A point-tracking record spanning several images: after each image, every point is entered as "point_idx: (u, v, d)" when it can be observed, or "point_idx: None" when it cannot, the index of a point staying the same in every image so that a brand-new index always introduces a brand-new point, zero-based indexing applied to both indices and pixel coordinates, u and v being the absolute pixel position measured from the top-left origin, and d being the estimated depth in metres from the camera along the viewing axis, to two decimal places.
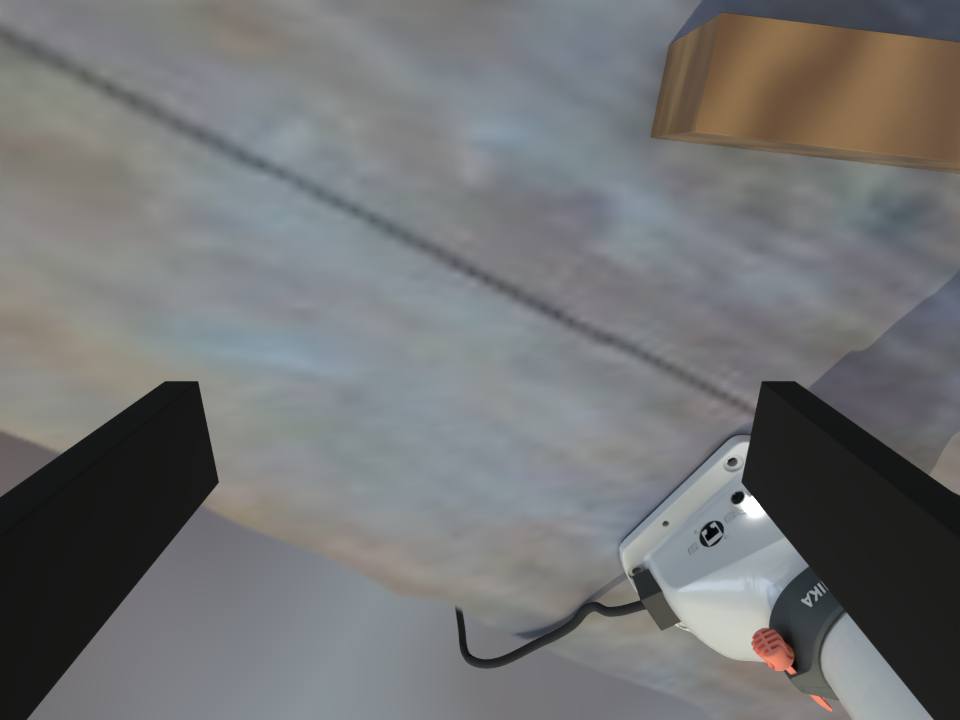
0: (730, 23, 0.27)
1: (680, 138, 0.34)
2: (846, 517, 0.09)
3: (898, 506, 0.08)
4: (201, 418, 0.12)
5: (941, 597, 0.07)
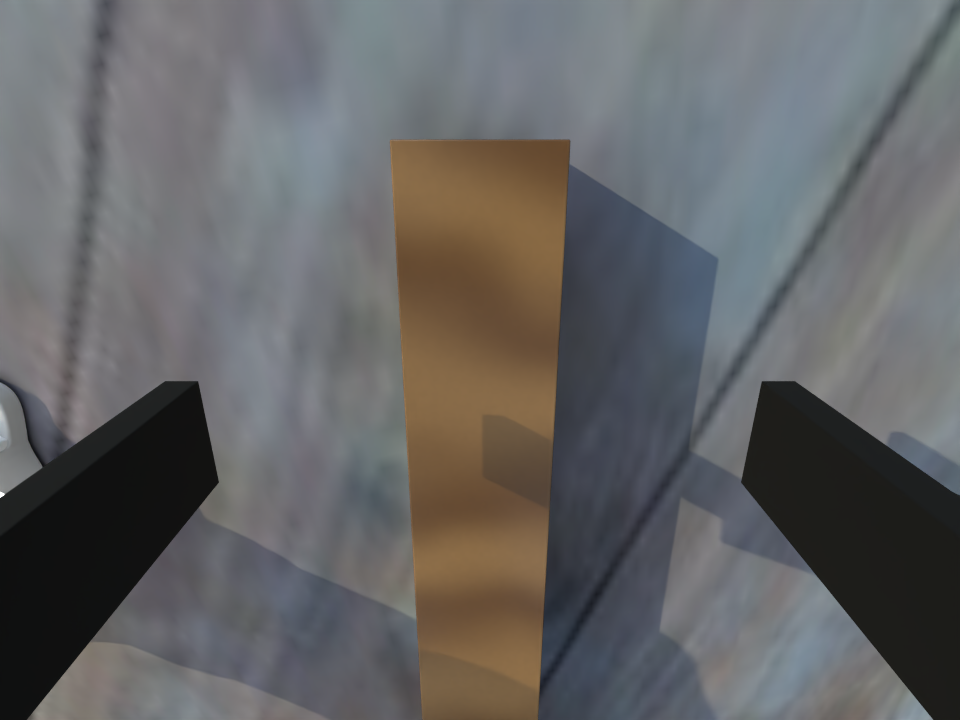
0: (555, 158, 0.17)
1: None
2: (846, 517, 0.09)
3: (898, 506, 0.08)
4: (202, 417, 0.12)
5: (941, 597, 0.07)
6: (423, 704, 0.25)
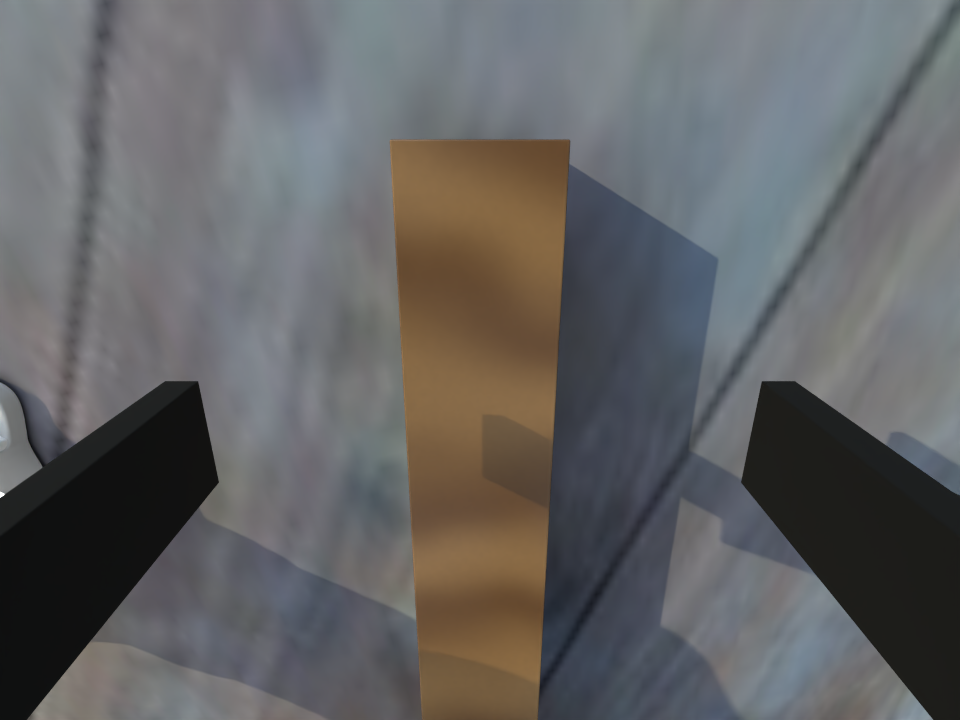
0: (554, 158, 0.17)
1: None
2: (846, 517, 0.09)
3: (898, 506, 0.08)
4: (201, 417, 0.12)
5: (941, 597, 0.07)
6: (423, 704, 0.25)
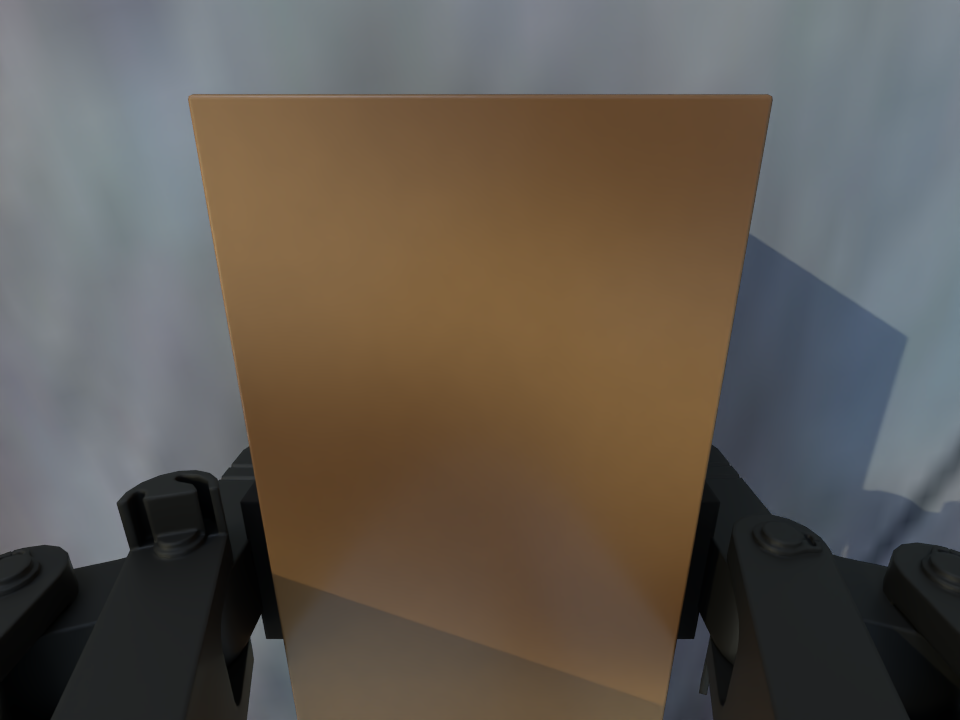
0: (718, 155, 0.05)
1: None
2: None
3: None
4: None
5: None
6: None
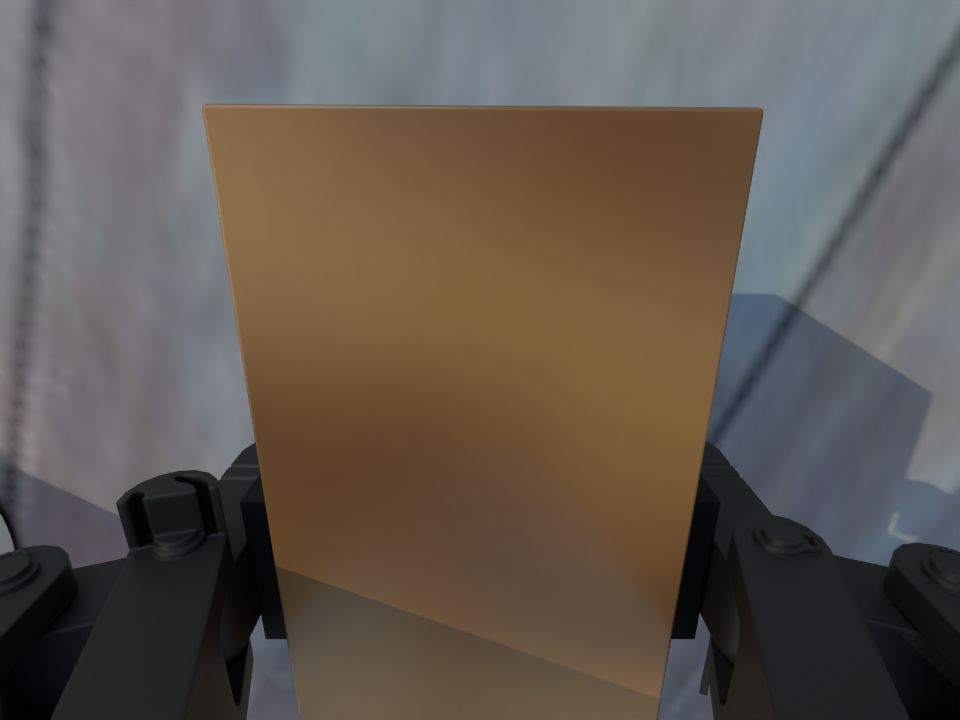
0: (712, 166, 0.05)
1: None
2: None
3: None
4: None
5: None
6: None
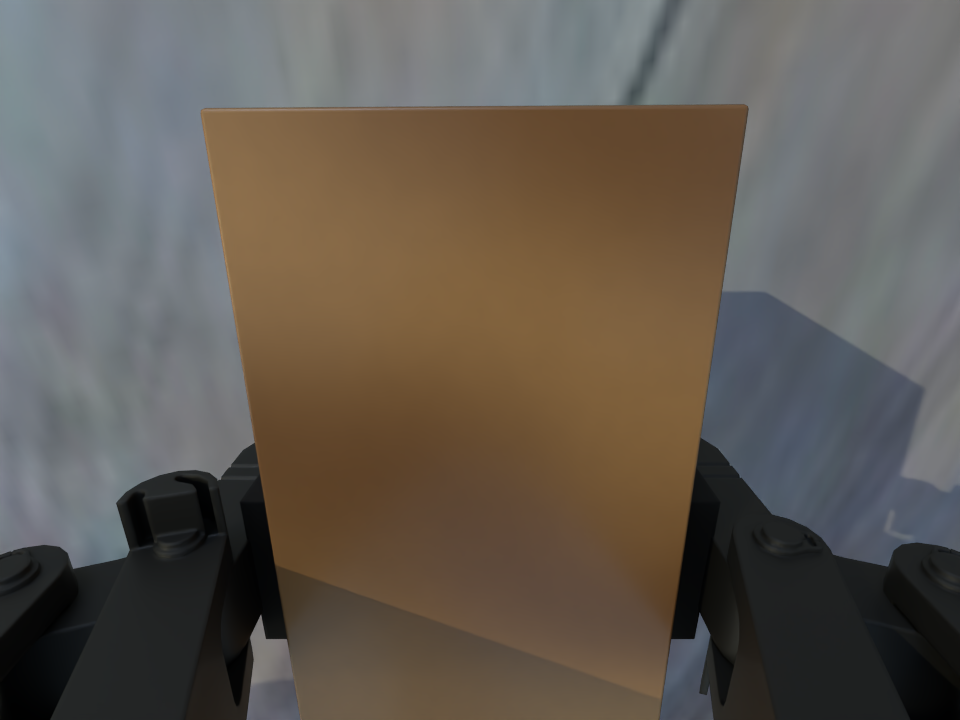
0: (699, 163, 0.06)
1: None
2: None
3: None
4: None
5: None
6: None
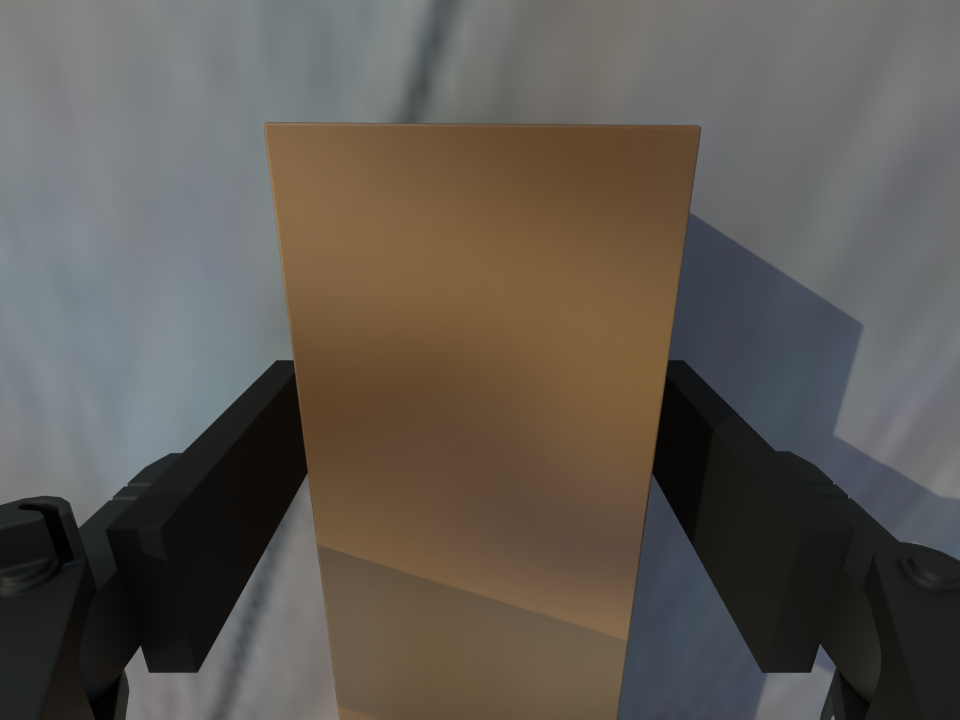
0: (662, 171, 0.07)
1: None
2: (699, 474, 0.11)
3: (726, 460, 0.09)
4: None
5: (747, 533, 0.09)
6: None
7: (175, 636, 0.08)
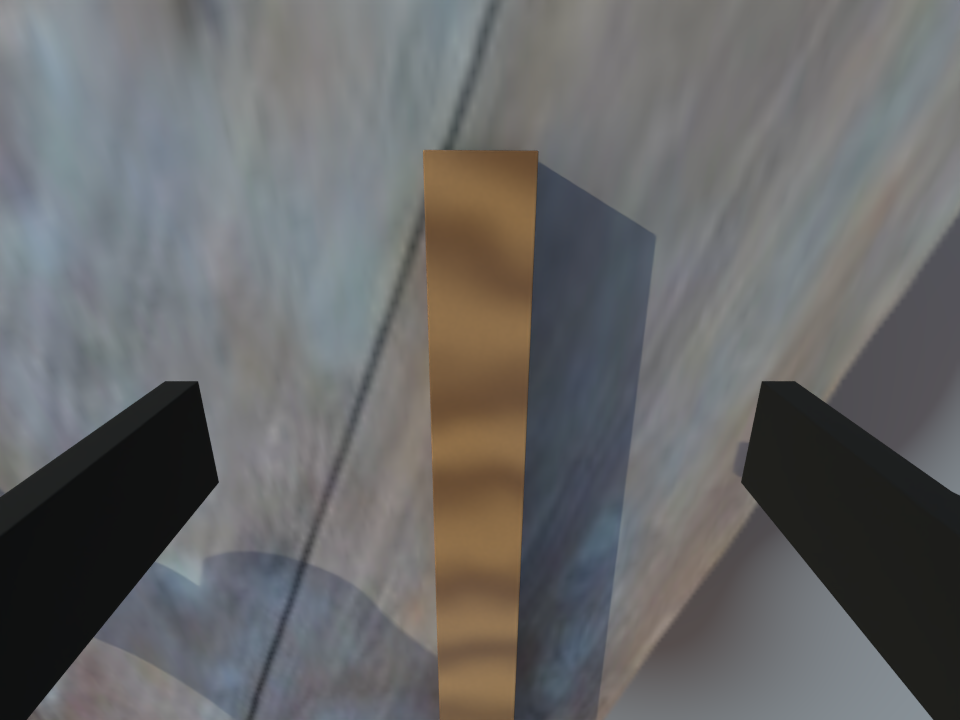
0: (528, 162, 0.26)
1: None
2: (846, 517, 0.09)
3: (898, 506, 0.08)
4: (201, 417, 0.12)
5: (941, 597, 0.07)
6: (436, 559, 0.34)
7: None
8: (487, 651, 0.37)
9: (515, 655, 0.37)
